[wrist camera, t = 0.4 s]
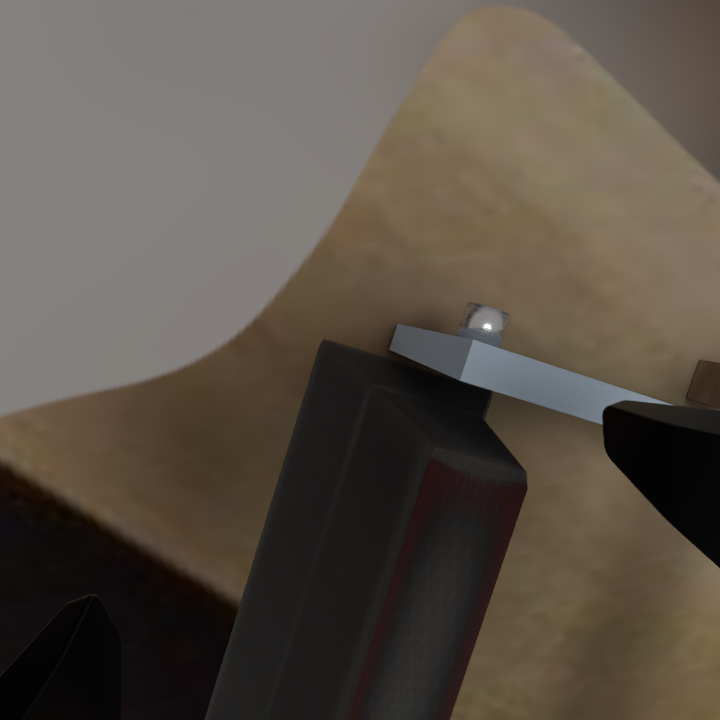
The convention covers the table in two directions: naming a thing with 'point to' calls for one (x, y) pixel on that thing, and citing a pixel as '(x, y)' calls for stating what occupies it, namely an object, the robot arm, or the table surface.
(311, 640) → the barrier
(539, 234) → the table surface
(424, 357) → the door
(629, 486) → the table surface
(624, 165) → the table surface
